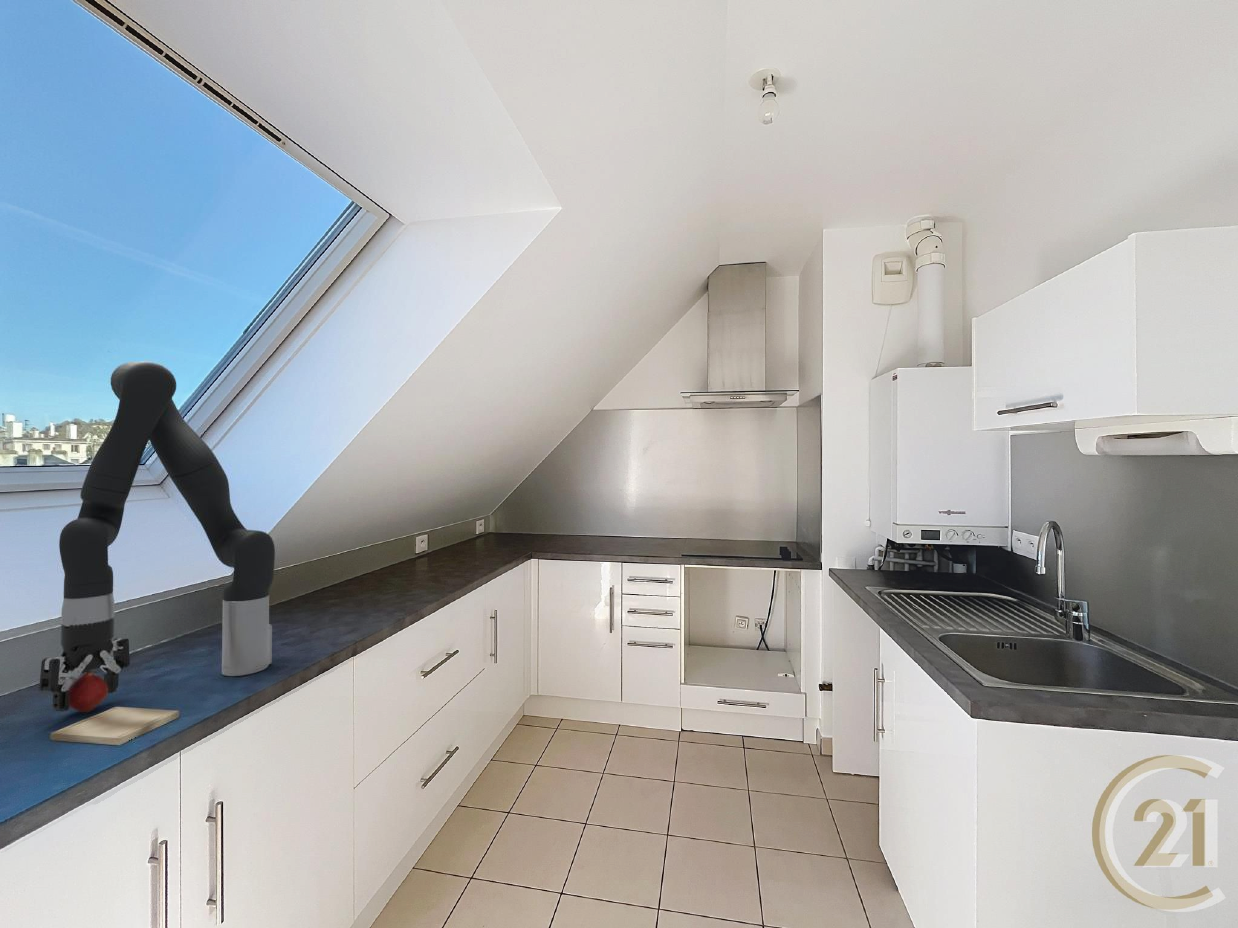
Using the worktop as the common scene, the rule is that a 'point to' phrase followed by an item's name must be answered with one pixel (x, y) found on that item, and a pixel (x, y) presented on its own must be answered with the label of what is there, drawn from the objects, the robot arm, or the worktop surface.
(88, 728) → the board
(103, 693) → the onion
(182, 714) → the worktop surface
